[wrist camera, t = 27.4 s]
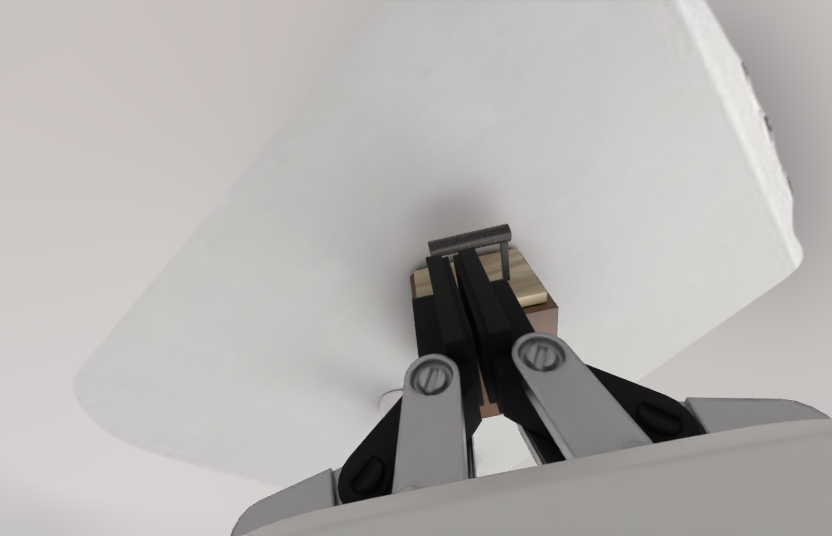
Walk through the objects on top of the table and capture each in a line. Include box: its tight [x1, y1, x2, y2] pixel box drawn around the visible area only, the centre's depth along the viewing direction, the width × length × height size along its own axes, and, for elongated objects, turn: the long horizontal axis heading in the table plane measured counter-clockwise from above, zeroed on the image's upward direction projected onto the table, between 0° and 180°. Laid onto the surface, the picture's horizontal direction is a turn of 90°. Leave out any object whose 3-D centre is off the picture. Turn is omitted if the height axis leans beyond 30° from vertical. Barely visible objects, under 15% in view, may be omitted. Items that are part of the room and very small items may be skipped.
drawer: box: [413, 224, 547, 308], centre depth 34 cm, size 19×11×8 cm, turn 12°
